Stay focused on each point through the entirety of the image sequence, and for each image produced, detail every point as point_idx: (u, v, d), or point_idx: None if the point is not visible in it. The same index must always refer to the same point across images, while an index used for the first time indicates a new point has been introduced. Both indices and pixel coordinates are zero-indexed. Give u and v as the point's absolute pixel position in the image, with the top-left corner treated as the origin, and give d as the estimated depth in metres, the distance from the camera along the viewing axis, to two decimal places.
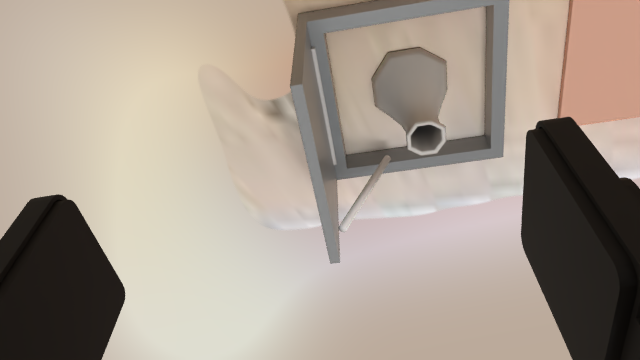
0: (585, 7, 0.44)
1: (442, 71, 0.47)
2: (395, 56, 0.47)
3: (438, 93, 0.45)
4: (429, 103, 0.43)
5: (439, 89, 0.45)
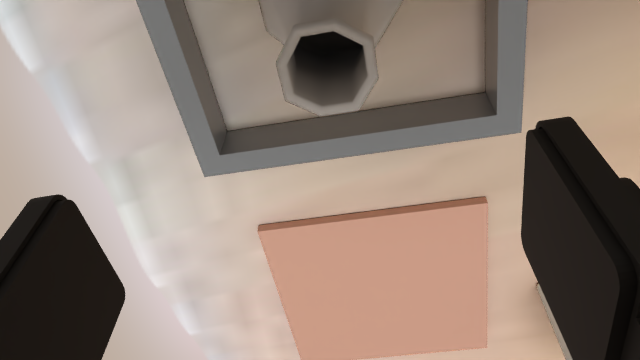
0: (450, 221, 0.32)
1: None
2: None
3: None
4: None
5: None
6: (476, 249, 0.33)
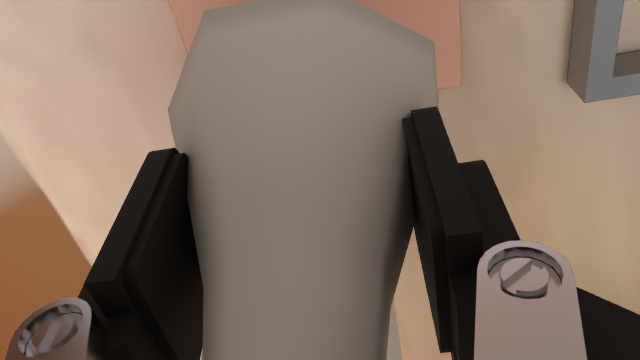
0: (439, 50, 0.27)
1: None
2: (432, 77, 0.12)
3: None
4: None
5: None
6: None
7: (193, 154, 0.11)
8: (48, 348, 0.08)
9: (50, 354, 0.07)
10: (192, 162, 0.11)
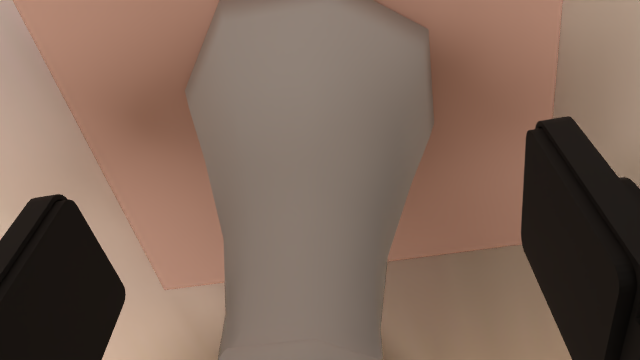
0: (512, 198, 0.17)
1: None
2: (426, 61, 0.14)
3: None
4: None
5: None
6: (433, 242, 0.19)
7: (211, 126, 0.12)
8: None
9: None
10: (210, 133, 0.12)
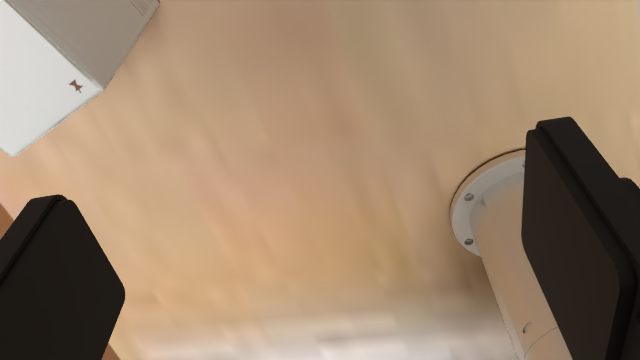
0: None
1: None
2: None
3: None
4: None
5: None
6: None
7: None
8: None
9: None
10: None
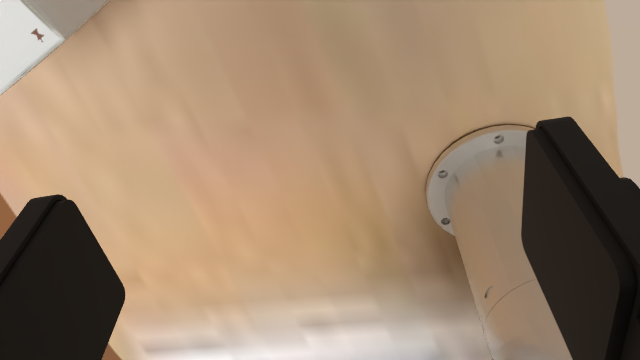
0: None
1: None
2: None
3: None
4: None
5: None
6: None
7: None
8: None
9: None
10: None
